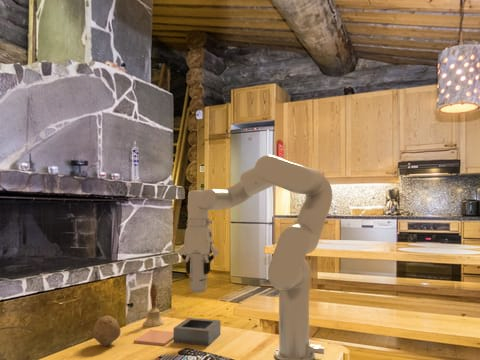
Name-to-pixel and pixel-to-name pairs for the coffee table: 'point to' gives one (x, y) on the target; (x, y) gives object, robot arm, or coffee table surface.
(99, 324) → the natural sponge
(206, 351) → the coffee table surface
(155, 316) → the hand bell
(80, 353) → the coffee table surface
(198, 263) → the energy drink can
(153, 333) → the terracotta tile
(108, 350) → the coffee table surface
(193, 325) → the frame
